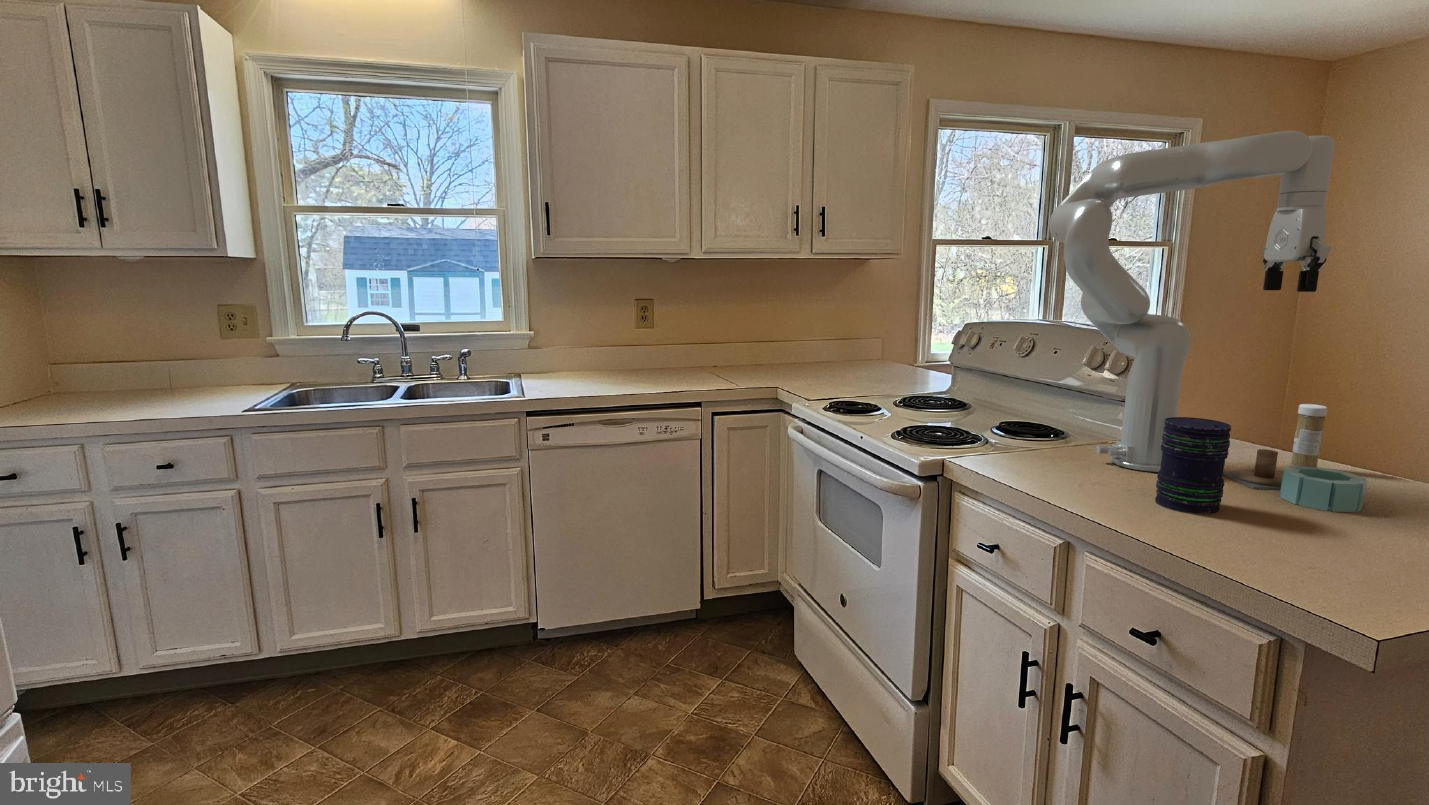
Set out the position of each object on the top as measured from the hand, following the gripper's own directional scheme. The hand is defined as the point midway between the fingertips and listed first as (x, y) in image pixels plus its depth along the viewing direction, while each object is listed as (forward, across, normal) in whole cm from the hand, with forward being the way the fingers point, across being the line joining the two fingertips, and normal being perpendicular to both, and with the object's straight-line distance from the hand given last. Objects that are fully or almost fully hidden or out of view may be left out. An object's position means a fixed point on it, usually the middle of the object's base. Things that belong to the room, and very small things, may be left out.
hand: (1288, 290), depth 144 cm
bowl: (+37, +23, -5) cm, 44 cm away
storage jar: (+37, +27, -30) cm, 55 cm away
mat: (+37, +11, -7) cm, 39 cm away
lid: (+36, +11, -7) cm, 39 cm away
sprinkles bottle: (+37, 0, +8) cm, 38 cm away
